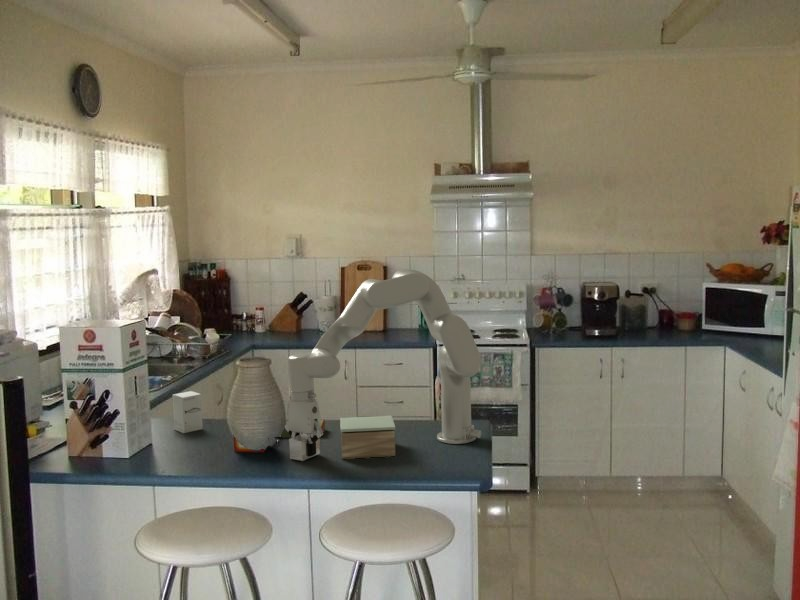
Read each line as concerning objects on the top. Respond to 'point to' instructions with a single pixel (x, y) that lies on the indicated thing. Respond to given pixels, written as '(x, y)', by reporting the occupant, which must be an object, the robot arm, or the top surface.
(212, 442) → the top surface
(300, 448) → the white rectangular block
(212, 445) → the top surface
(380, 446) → the box
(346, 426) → the lid
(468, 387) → the robot arm
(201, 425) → the supplement box
